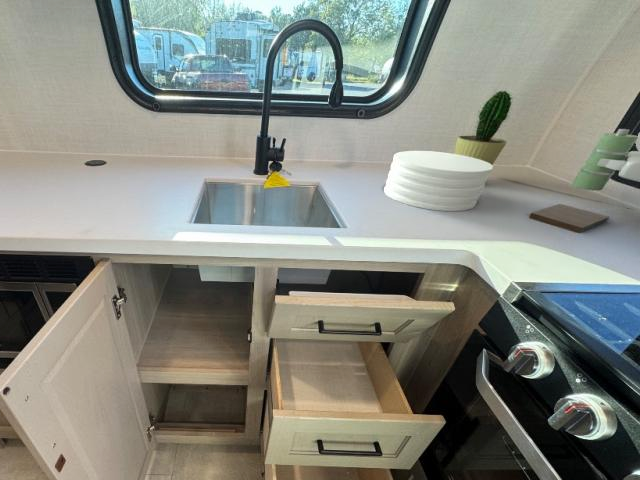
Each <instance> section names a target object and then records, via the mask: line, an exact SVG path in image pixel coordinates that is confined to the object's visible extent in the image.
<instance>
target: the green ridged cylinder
mask: <svg viewBox="0 0 640 480" xmlns="http://www.w3.org/2000/svg"><path fill="white" fill-rule="evenodd" d="M629 133H630V129H626V128H618V130H617V131H616V132H604V133H603V134H602V135H601V137H600V138H599V140H598V141H597V143H596V144H595V146H594V147H593V148H592V151H591V152H590V154H589V156H588V158H587V159H586V160H585V162H584V163H583V165H582V166H581V167H580V169H579V172H578V173H577V174H576V176H575V178H574V180H573V181H572V183H571V186H573V187H575V188H578V189H583V190H587V191H602V190H603V189H604V187H605V186H606V185H607V184H608V181H609V180H610V179H611V177H612V176H613V175H614V174H616V173H615V172H616V170H613V169H610V168H607V167H601V166H597V164H598V162H599V161H600V159H601V158H608V159H613V160H623V159H624V157H625V156H626V155H628V154H629V152H630V150H631V148H632V147H633V146H634V145H635V141H636V140H637V138H638V136H637V135H634V134H629Z"/></svg>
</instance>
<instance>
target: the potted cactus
mask: <svg viewBox="0 0 640 480" xmlns="http://www.w3.org/2000/svg"><path fill="white" fill-rule="evenodd" d="M488 96H489V95H488ZM515 97H516V96H514V98H515ZM514 98H513V94H511V93H508V91H506V90H495V92H494V93H493V94H492V96H489V99H488V100H487V101H486V102H485V103H484V102H482V104H484V105H483V107H481V110H479V112H478V113H477V117H478V121H476V122H477V123H476V124H477V126H476V127H475V130H474V133H475V134H474V135H473V134H472V135H468V134H467V135H458V136H457V140H456V143H455V147H454V151H453V154H457V155H463V156H468V157H472V158H476V159H480V160H483V161H485V162H488V163H490V164H491V165H492V166H493V165H494V163H495V162H496V161H497V159H498V157H499V156H500V154H501V152H502V151H503V149H505V146H506V144H508V141H507V140H505V139H501V138H497V137H495V135H496V133H497V132H500V129H501V126H503V123H504V124H505V121H506V120H508V121H509V119H511V118H512V117H511V116H510V111H511V110H512V109H513V107H512V105H513V102H514V101H513V99H514Z"/></svg>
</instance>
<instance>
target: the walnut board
mask: <svg viewBox="0 0 640 480" xmlns="http://www.w3.org/2000/svg"><path fill="white" fill-rule="evenodd" d="M528 218H529V219H530V220H531V219H532V220H534V221H538V222H542V223H545V224H548V225H552V226H555V227H558V228H561V229H564V230H568V231H571V232H574V233H577V234H581V233H582V232H585V231H588V230H589V229H592V228H594V227H596V226H599V225H601V224H604V223H606V222H607V221H608V220H609V219H610V216H609V215H605V214H600V213H596V212H593V211H590V210H585V209H582V208H577V207H574V206H570V205H567V204H563V203H557V204H554V205H552V206H549V207H545V208H543V209H539V210H536V211H533V212H531V213H530V215H529V216H528Z"/></svg>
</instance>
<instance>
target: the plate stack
mask: <svg viewBox="0 0 640 480" xmlns="http://www.w3.org/2000/svg"><path fill="white" fill-rule="evenodd" d="M493 169H494V166H493V165H491V164H490V163H488V162H485V161H483V160H480V159H476V158H472V157H468V156H463V155H457V154H454V153H451V152H443V151H431V150H405V151H398V152H396V153H394V154H393V158H392V162H391V165H390V170H389V171H388V177H387V178H386V182H385V183H386V184H385V186H384V188H383V192H384V194H385V195H386V196H387V197H388V198H390V199H392V200H394V201H396V202H399V203H401V204H405V205H408V206H412V207H415V208H420V209H425V210H432V211H443V212H463V211H468V210H471V209H473V208H475V207H476V204H477V203H478V199H479V198H480V197H481V194H482V192H483V190H484V188H485V186H486V182H487V181H488V179H489V177H490V174H491V173H492V171H493Z"/></svg>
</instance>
